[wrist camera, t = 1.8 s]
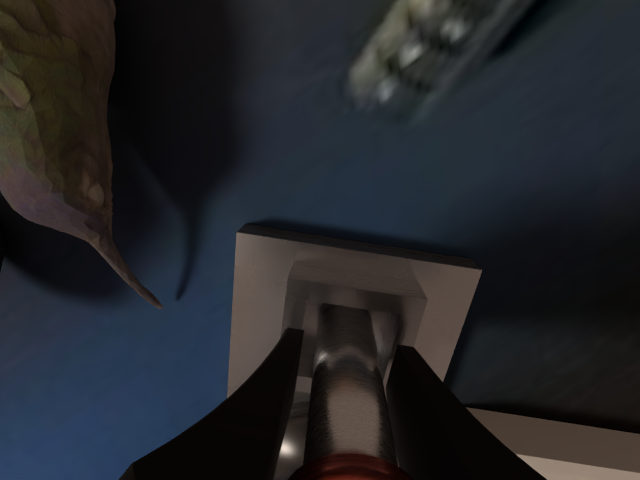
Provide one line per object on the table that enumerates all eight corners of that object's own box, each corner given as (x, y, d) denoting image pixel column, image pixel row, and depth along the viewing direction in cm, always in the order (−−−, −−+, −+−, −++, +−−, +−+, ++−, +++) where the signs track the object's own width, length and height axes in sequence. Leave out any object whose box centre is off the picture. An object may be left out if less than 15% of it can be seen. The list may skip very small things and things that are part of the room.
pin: (373, 359, 14) (411, 602, 7) (304, 348, 14) (269, 579, 7) (388, 298, 13) (452, 509, 6) (313, 286, 13) (283, 483, 6)
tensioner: (390, 497, 19) (399, 561, 16) (228, 472, 19) (209, 532, 16) (470, 258, 14) (505, 292, 11) (244, 224, 14) (220, 248, 11)
